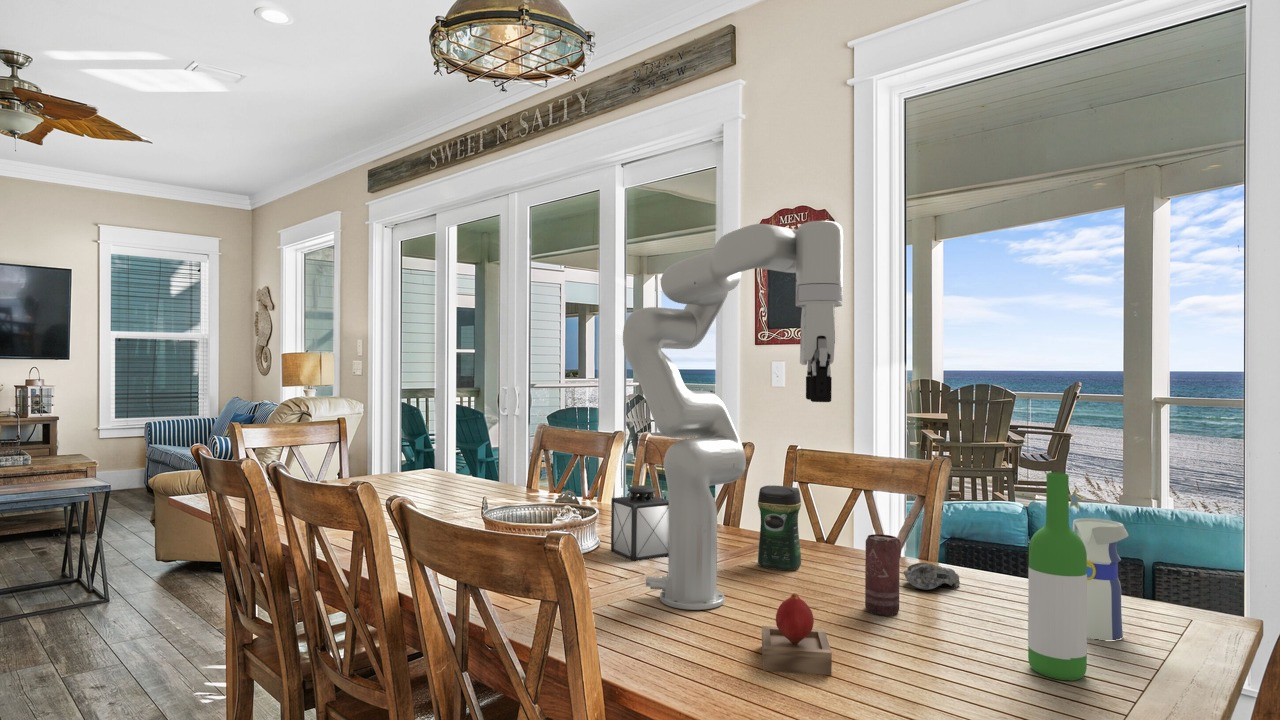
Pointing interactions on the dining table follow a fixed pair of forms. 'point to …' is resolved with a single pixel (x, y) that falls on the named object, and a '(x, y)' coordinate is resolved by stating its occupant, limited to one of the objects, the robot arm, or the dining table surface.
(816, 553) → the dining table surface
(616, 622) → the dining table surface
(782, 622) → the onion
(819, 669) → the wooden square tray
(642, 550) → the lantern
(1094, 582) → the white spray bottle
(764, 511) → the coffee jar
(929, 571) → the fossilized seashell
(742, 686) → the dining table surface
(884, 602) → the can
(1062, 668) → the wine bottle
